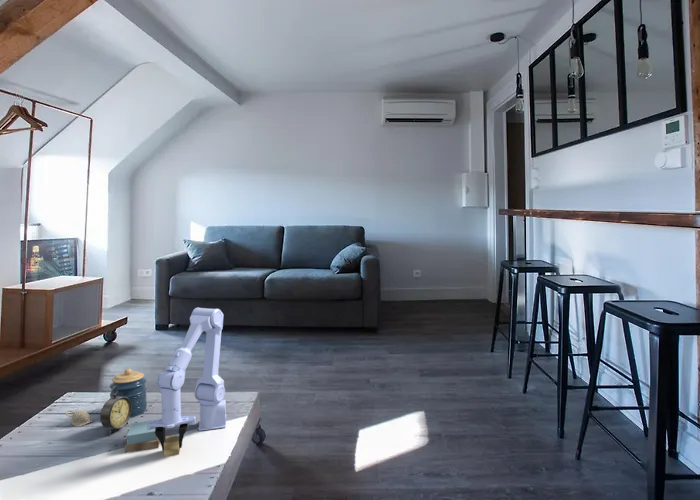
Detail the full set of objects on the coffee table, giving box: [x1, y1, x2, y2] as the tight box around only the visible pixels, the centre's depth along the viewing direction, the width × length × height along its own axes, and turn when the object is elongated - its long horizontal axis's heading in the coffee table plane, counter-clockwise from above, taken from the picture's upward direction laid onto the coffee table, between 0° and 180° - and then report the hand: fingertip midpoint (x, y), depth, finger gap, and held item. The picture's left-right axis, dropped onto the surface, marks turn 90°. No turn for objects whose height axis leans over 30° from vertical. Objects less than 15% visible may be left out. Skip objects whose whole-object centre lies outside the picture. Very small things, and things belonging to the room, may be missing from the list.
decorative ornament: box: [65, 409, 94, 427], centre depth 153 cm, size 4×8×5 cm, turn 90°
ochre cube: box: [163, 434, 181, 457], centre depth 134 cm, size 4×4×4 cm
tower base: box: [124, 439, 161, 454], centre depth 139 cm, size 10×10×3 cm
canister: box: [109, 368, 148, 418], centre depth 163 cm, size 13×13×18 cm
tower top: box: [126, 418, 160, 445], centre depth 139 cm, size 9×9×3 cm
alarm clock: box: [99, 386, 132, 437], centre depth 148 cm, size 11×5×16 cm, turn 168°
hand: (172, 447), depth 134 cm, fingers closed on ochre cube, 4 cm apart
